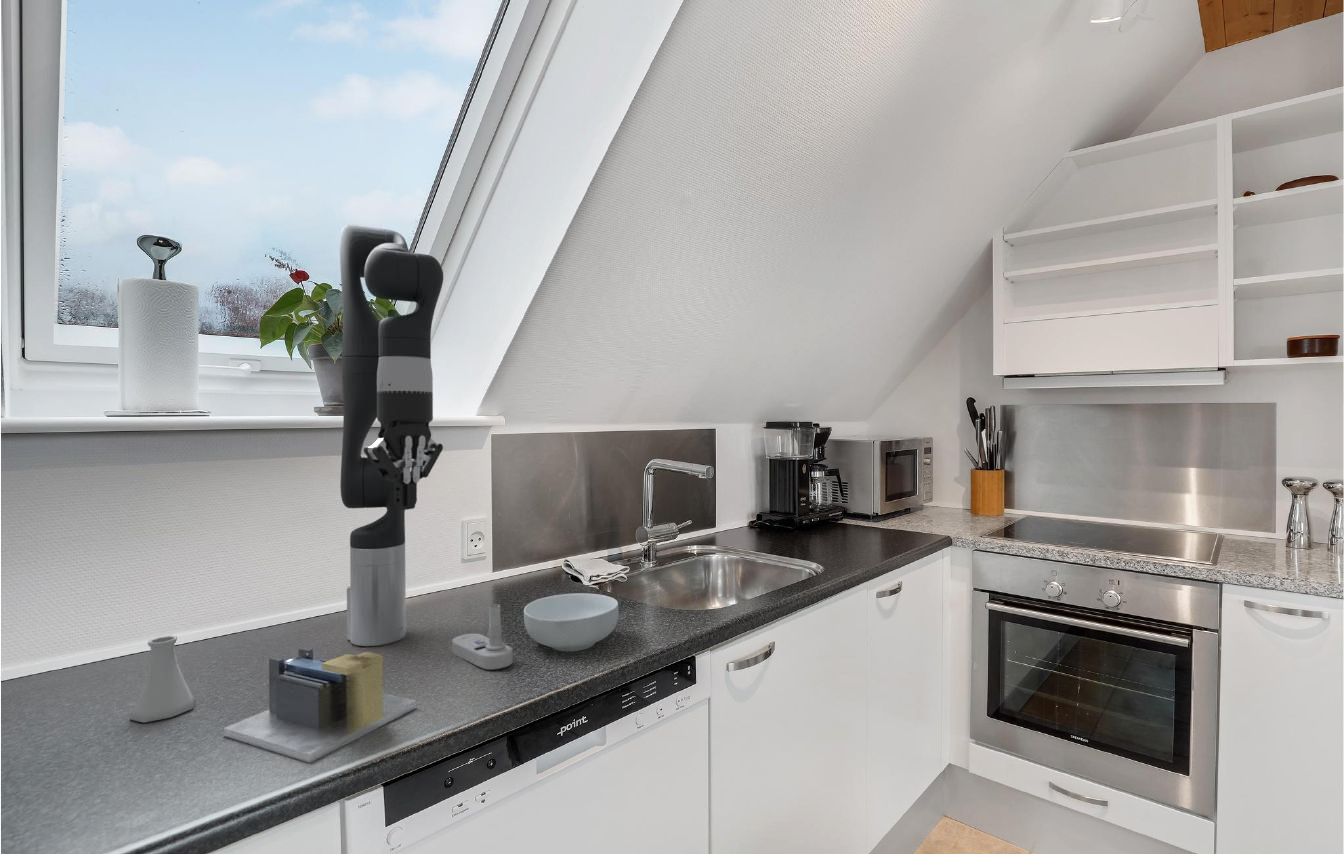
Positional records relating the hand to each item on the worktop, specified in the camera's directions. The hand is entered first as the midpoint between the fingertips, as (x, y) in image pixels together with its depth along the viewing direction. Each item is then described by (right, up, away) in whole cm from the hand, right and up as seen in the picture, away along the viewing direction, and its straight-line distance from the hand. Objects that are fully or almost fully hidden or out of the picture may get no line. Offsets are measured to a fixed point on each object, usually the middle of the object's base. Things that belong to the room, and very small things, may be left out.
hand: (405, 508), depth 95 cm
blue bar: (-8, -21, -8) cm, 24 cm away
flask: (-31, -27, -5) cm, 42 cm away
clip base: (-7, -27, -9) cm, 29 cm away
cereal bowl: (+21, -27, +21) cm, 40 cm away
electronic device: (+7, -27, +15) cm, 32 cm away
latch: (-2, -26, -11) cm, 28 cm away
